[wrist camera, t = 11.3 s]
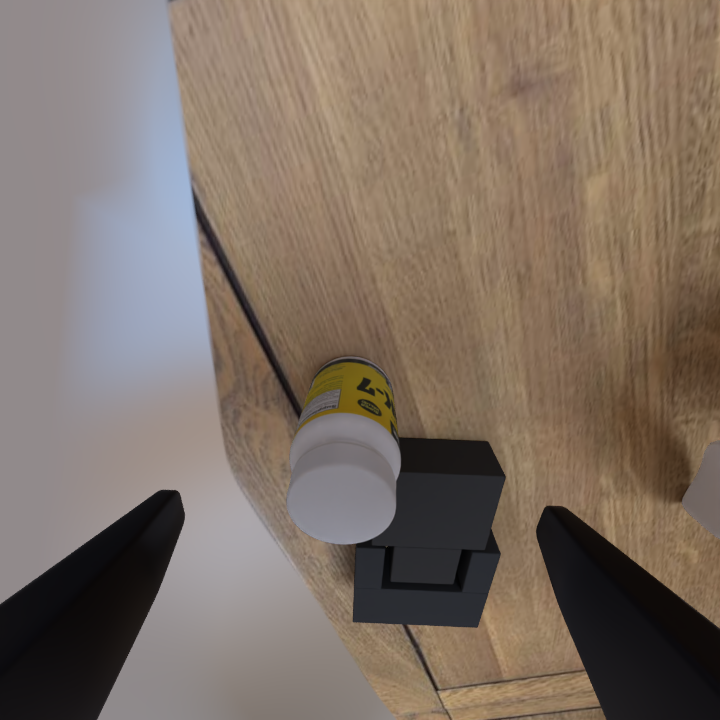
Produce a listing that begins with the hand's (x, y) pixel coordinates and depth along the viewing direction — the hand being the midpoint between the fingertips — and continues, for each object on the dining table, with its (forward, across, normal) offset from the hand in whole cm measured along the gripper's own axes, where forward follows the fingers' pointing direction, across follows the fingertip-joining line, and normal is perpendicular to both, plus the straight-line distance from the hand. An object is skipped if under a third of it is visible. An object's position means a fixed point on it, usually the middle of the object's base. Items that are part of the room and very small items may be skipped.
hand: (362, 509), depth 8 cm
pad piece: (+11, -5, +11) cm, 16 cm away
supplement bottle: (+11, 0, +3) cm, 12 cm away
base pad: (+11, -5, +18) cm, 21 cm away
